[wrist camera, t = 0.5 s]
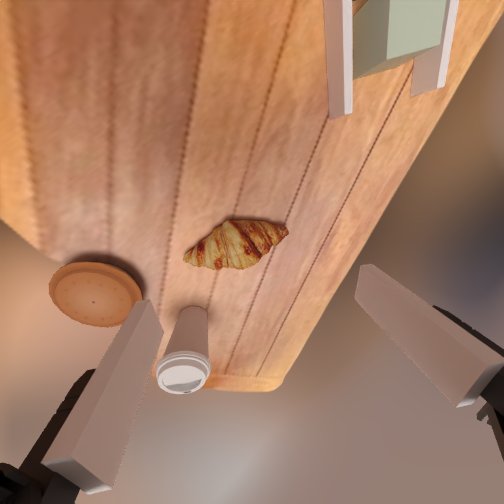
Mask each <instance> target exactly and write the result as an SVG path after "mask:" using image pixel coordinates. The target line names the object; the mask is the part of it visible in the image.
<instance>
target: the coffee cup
mask: <svg viewBox="0 0 504 504" xmlns="http://www.w3.org/2000/svg"><path fill="white" fill-rule="evenodd" d="M210 371H211V363H210V361H209V356H208V317H207V312H206V311H205V310H204V309H203V308H201V307H198V306H190V307H187V308H185V309H183V310H182V311H181V313H180V315H179V318H178V320H177V323H176V325H175V328H174V330H173V333H172V335H171V338H170V340H169V343H168V345H167V348H166V350H165V353H164V355H163V358H161V359H160V360H159V362H158V363H157V366H156V376H157V379H158V384H159V386H160V387H161V388H162V389H163V390H165V391H167V392H169V393H173V394H186V393H191V392H194V391H196V390H198V389H199V388H201V387H202V386H203V385H204V383H205V381H206V379H207V378H208V376H209V374H210Z"/></svg>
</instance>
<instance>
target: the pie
mask: <svg viewBox="0 0 504 504" xmlns="http://www.w3.org/2000/svg"><path fill="white" fill-rule="evenodd" d="M49 294H50V297H51V298H52V301H53V303H54V304H55V305H56V306H57V307H58V308H59V309H60V310H61V311H62V312H63V313H64V314H66V315H67V316H69V317H70V318H71V319H73V320H76V321H78V322H80V323H83V324H87V325H92V326H99V327H113V326H119V325H121V324H123V323H124V321H125V320H126V318H127V316H128V315H129V313H130V311H131V309H132V308H133V306H134V304H135V303H136V301H142V300H143V299H142V294H141V290H140V289H139V287H138V285H137V284H136V282H135V281H134V279H133V278H132V277H131V276H130V275H129V274H128V273H127V272H126V271H125V270H123V269H121V268H119V267H117V266H114V265H111V264H106V263H99V262H74V263H70V264H68V265H66V266H63V267H61V268H60V269H59V270H58V271H57V272H56V273H55V274H54V275H53V277H52V279H51V281H50V283H49Z"/></svg>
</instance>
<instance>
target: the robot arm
mask: <svg viewBox="0 0 504 504" xmlns="http://www.w3.org/2000/svg"><path fill="white" fill-rule="evenodd" d="M355 300H356V301H357V302H358V303H359V304H360V306H361V307H362V308H363V309H364V310H365V311H366V312H367V313H368V314H369V315H370V316H371V317H372V318H373V320H374V321H375V322H376V323H377V324H378V325H379V326H380V327H381V328H382V329H383V330H384V331H385V332H386V333H387V334H388V336H389V337H390V338H391V339H392V340H393V341H394V342H395V343H396V344H397V345H398V346H399V347H400V348H401V350H403V352H404V353H405V354H406V355H407V356H408V357H409V358H410V359H411V360H412V361H413V362H414V363H415V365H417V367H418V368H419V369H420V370H421V371H422V372H423V373H424V374H425V375H426V376H427V377H428V378H429V379H430V381H431V382H432V383H433V384H434V385H435V386H436V387H437V388H438V389H439V390H440V391H441V392H442V393H443V394H444V396H445V397H446V398H447V399H448V400H449V401H450V402H451V403H452V404H453V405H454V406H455V407H461V406H465V405H469V404H473V403H474V401H475V400H476V399H477V398H478V397H479V395H481V396H482V397H483V398H484V399H485V400H486V401H487V403H486V404H485V405H484V406H483V407H482V409H481V410H480V411H479V412H478V413H477V420H480V421H482V419H483V418H484V417H485V416H486V415H488V417H489V420H488V421H487V424H489V425H491V426H492V429H493V432H494V435H495V438H496V440H497V443H498V446H499V449H500V452H501V454H502V458H503V460H504V349H502V348H501V347H499V346H498V345H496V344H495V343H494V342H492V341H491V340H489V339H488V338H486V337H485V336H483V335H482V334H480V333H479V332H478V331H476V330H473V329H472V327H470V326H469V325H467V324H466V323H464V322H462V321H461V320H460V319H458V318H457V317H455V316H454V315H452V314H451V313H449V312H448V311H445V310H443V309H441V308H439V307H437V306H430V305H429V304H428V303H426V302H425V301H423V300H422V299H420V298H419V297H418V296H416V295H415V294H414V293H412V292H411V291H409V290H408V289H407V288H405V287H404V286H402V285H401V284H400V283H398V282H397V281H395V280H394V279H393V278H391V277H390V276H388V275H387V274H385V273H384V272H383V271H381V270H380V269H378V268H377V267H376V266H374V265H373V264H368V265H361V267H360V272H359V277H358V283H357V287H356V293H355ZM163 334H164V331H163V329H162V326H161V324H160V322H159V319H158V317H157V315H156V312H155V310H154V308H153V305H152V303H151V301H150V299H148V300H142V301H136V303H135V304H134V306H133V308H132V309H131V311H130V313H129V315H128V316H127V318H126V320H125V321H124V323H123V325H122V326H121V328H120V330H119V332H118V333H117V335H116V337H115V338H114V340H113V342H112V343H111V345H110V347H109V349H108V350H107V352H106V353H105V355H104V357H103V359H102V360H101V362H100V364H99V365H98V367H97V369H91V370H87V371H86V372H85V373H84V374H83V375H82V376H81V377H80V378H79V379H78V380H77V381H76V382H75V383H74V385H73V386H72V388H71V389H70V391H69V392H68V394H67V396H66V397H65V400H64V401H63V402H62V403H61V405H60V406H59V408H58V409H57V412H56V414H54V415H53V417H52V418H51V420H50V422H49V423H48V425H47V426H46V428H45V429H44V431H43V432H42V434H41V435H40V437H39V439H38V440H37V441H36V443H35V445H34V446H33V448H32V449H31V451H30V452H29V454H28V455H27V457H26V458H25V460H24V461H23V463H22V464H21V466H20V467H19V469H17V468H15V467H13V466H11V465H10V464H6V463H0V504H75V500H76V497H77V495H78V493H79V490H80V489H81V490H82V491H84V492H85V493H87V494H92V493H97V492H102V491H105V490H110V489H112V488H113V485H114V482H115V479H116V476H117V473H118V469H119V467H120V464H121V461H122V458H123V455H124V452H125V449H126V445H127V443H128V440H129V436H130V434H131V430H132V427H133V424H134V421H135V418H136V415H137V412H138V409H139V406H140V403H141V400H142V397H143V394H144V391H145V388H146V385H147V382H148V379H149V376H150V373H151V370H152V367H153V364H154V361H155V358H156V355H157V352H158V349H159V346H160V343H161V340H162V337H163Z"/></svg>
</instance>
